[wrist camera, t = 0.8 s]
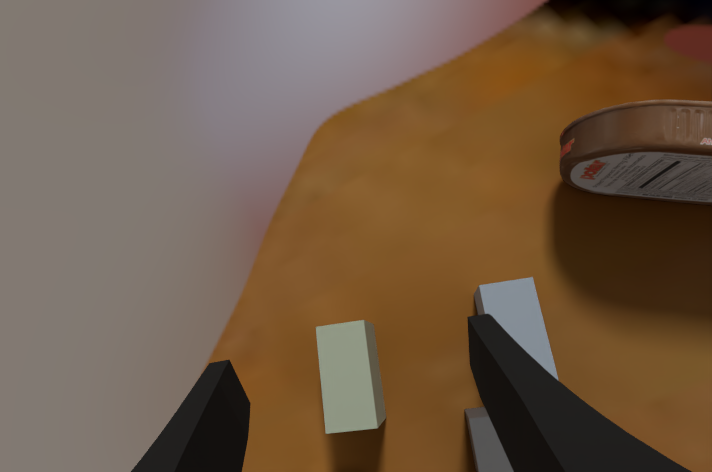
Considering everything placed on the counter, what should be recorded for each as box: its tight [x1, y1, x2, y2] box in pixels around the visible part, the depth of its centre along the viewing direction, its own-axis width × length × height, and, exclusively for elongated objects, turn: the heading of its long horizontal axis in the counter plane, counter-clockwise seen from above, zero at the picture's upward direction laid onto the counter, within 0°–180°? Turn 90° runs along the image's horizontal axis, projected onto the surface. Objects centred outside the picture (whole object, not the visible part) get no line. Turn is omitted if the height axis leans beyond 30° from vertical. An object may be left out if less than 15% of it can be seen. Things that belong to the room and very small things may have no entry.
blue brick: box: [474, 277, 559, 381], centre depth 25 cm, size 6×3×4 cm, turn 7°
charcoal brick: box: [465, 407, 514, 472], centre depth 23 cm, size 6×3×4 cm, turn 7°
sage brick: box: [316, 320, 386, 434], centre depth 26 cm, size 6×3×4 cm, turn 7°
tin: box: [560, 100, 712, 205], centre depth 23 cm, size 15×3×8 cm, turn 80°
